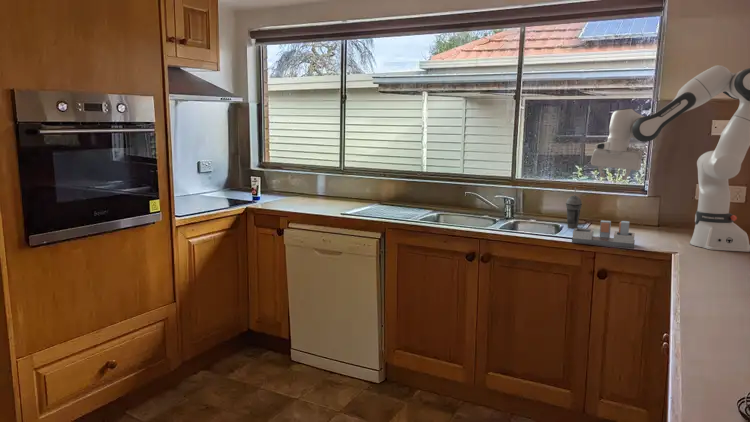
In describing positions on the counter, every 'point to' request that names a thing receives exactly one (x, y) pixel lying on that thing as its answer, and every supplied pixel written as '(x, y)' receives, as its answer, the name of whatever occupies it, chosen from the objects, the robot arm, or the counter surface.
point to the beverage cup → (573, 210)
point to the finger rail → (603, 238)
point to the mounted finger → (624, 227)
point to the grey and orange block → (605, 228)
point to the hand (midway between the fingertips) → (613, 178)
